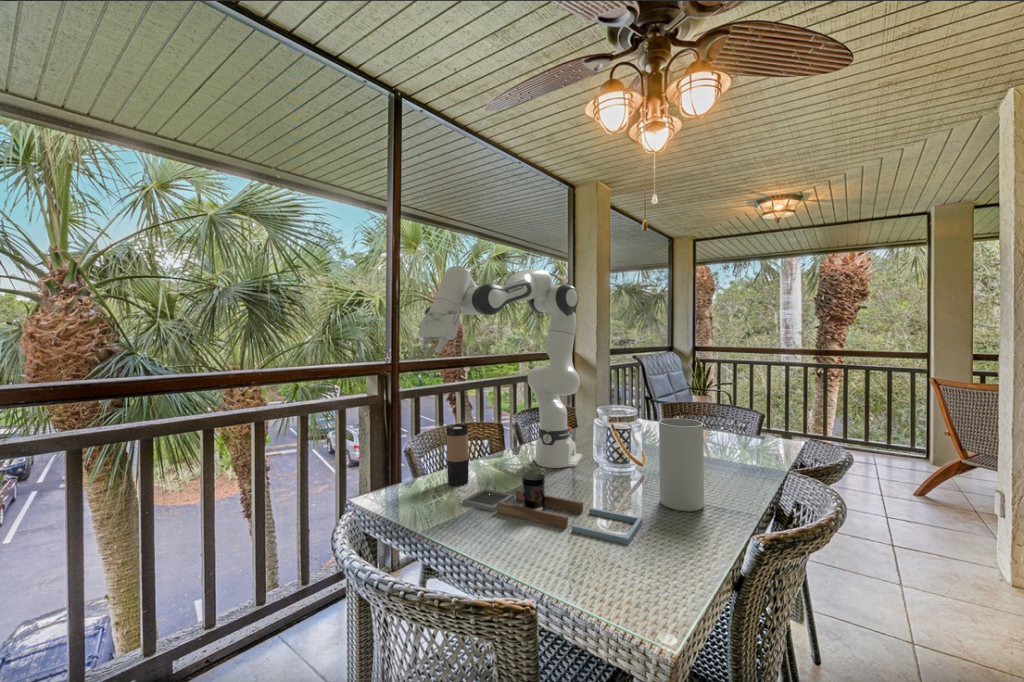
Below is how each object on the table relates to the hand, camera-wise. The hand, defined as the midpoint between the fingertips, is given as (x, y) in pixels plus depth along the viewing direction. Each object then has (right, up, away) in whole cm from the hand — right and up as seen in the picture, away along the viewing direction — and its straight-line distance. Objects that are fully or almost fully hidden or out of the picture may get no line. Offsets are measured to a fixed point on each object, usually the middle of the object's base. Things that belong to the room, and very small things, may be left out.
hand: (430, 351), depth 139 cm
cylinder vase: (+78, -46, -6) cm, 91 cm away
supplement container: (+32, -47, -10) cm, 58 cm away
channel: (+34, -47, -11) cm, 59 cm away
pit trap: (+19, -47, -2) cm, 51 cm away
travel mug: (+7, -47, +16) cm, 50 cm away
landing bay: (+51, -47, -21) cm, 73 cm away
